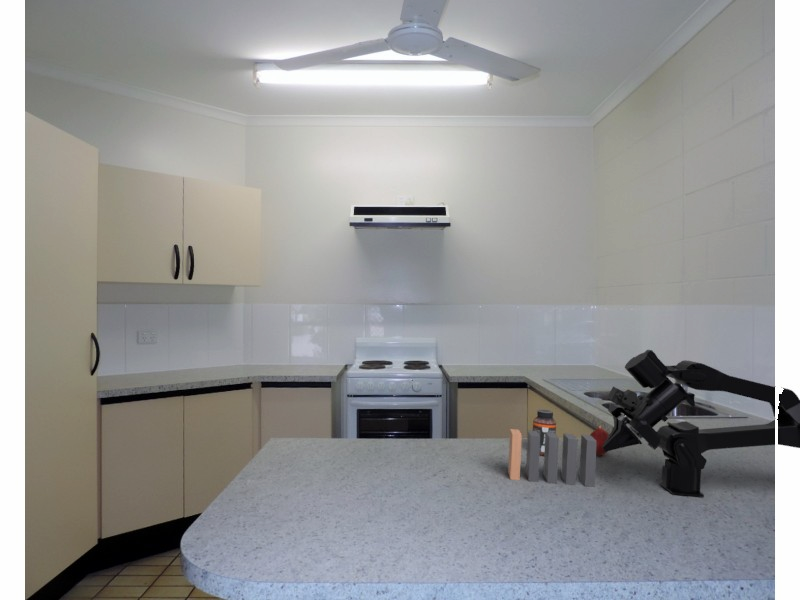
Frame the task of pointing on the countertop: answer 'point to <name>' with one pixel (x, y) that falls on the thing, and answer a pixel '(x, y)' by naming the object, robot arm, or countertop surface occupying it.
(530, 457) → the domino
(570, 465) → the domino
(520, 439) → the domino
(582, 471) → the domino
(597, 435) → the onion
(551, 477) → the domino
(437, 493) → the countertop surface
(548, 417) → the supplement bottle
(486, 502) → the countertop surface
